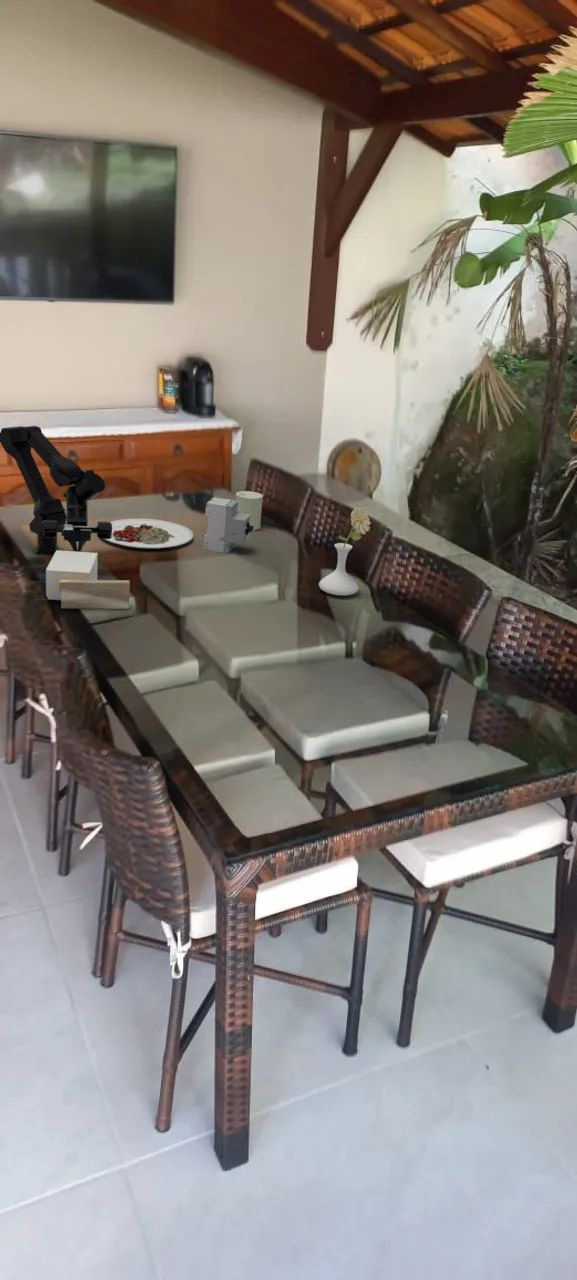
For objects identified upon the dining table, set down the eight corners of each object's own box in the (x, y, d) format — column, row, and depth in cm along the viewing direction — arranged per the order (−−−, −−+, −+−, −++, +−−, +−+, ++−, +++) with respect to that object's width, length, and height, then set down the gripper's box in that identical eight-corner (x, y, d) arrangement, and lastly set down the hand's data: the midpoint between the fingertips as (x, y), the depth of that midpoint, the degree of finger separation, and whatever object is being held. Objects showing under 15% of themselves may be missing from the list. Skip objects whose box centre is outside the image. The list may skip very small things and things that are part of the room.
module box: (56, 577, 253) (56, 550, 250) (97, 580, 254) (97, 553, 251) (46, 599, 238) (45, 570, 235) (89, 601, 239) (89, 572, 236)
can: (231, 523, 316) (233, 489, 311) (257, 523, 319) (260, 490, 314) (236, 531, 308) (238, 496, 303) (263, 532, 310) (265, 497, 306)
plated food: (211, 539, 299) (212, 529, 298) (151, 559, 275) (151, 548, 274) (141, 518, 313) (141, 508, 311) (77, 536, 289) (77, 525, 288)
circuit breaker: (247, 556, 285) (251, 509, 279) (203, 549, 287) (205, 502, 281) (253, 549, 292) (256, 503, 286) (209, 542, 294) (212, 497, 288)
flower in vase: (330, 600, 256) (340, 513, 246) (311, 586, 265) (320, 502, 255) (370, 596, 262) (381, 511, 252) (349, 583, 271) (360, 500, 261)
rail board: (61, 604, 236) (61, 578, 233) (128, 604, 240) (129, 579, 237) (61, 608, 234) (61, 582, 231) (129, 608, 238) (129, 583, 235)
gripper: (109, 520, 266) (111, 570, 261) (43, 519, 262) (42, 569, 257) (111, 502, 256) (112, 553, 251) (42, 500, 251) (41, 552, 246)
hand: (77, 557), depth 251 cm, fingers closed
